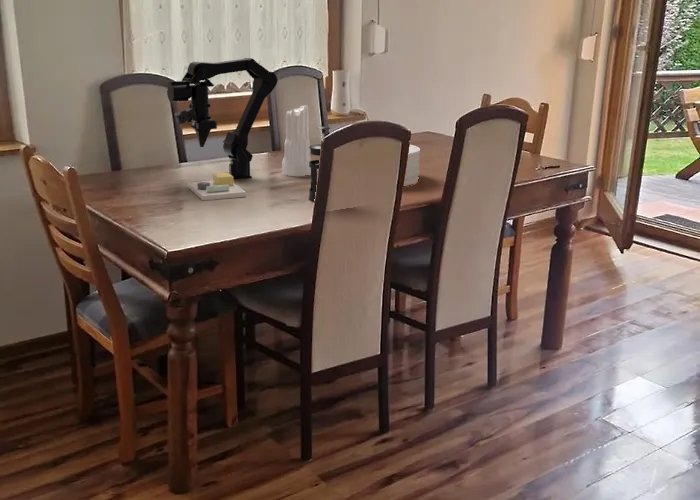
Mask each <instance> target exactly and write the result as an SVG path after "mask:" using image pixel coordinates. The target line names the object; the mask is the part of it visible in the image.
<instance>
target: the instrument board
mask: <svg viewBox="0 0 700 500" xmlns="http://www.w3.org/2000/svg"><path fill="white" fill-rule="evenodd" d="M234 181H235V179H233V176H232V175H230V174H229V172H227V171H226V172H215V173H212V180H209V181H208V180H206V181H198V182H197V181H196V182H195V181H194V182H187V188H188V189H189V190H191V192H193V193H194V195H196V196H197V197H198V198H199V199H200V200H201V201H211V200H212V201H213V200H223V199H237V198H247V192H246V191H245V190H244V189H243V188H242V187H240V186H239V185H237V184H235V182H234Z"/></svg>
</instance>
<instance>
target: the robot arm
mask: <svg viewBox="0 0 700 500" xmlns="http://www.w3.org/2000/svg"><path fill="white" fill-rule="evenodd" d="M245 71H246V72H247V74H248V75H249V76H250V78H252V79H253V82H252V91H251V92H252V93H251V95H250V96H249V99H248V101H247V104H246V105H245V108H244V111H243V113H242V115H241V116H240V118H239V122H238V124H237V126H236V127H235V129H234V130H233V131H232V132H230V131H227V133H226V136H225V139H224V140H223V141H222V143H223V146H222V148H223V151H224V152H225V154H227V157H228V159H230V160H229V162H230V163H228V171H229V172H228V173H229V174H230V175H232V176H233V180H241V179H251V178H252V176H251V162H252V159H253V154H252V153H251V152H249V151H248V150H247V149H248V145H249V134H250V131H251V130H252V128H253V125H254V123H255V120H256V119H257V116H258V114H259V112H260V111H261V107H262V105H263V103H264V101H265V99H266V98H267V97H268V96H270V94H271V93H272V92H273V90H274V89H275V87H276V86H277V85H278V82H279V80H278V77H277V74H276V73H274V72H273V71H269V70H268V68H267V69H266V68H265V67H264V66H262V65H261V64H260V63H258V61H256V60H255V59H254V58H250V57H245V58H239V59H233V60H232V59H231V60H226V61H218V62H206V61H205V62H204V61H192V62H190V63H189V65H188V66H187V71H186V72H185V74H184V76H183V77H182V79H181V80H169V83H168V86H167V91H166V94H167V95H166V96H167V99H168V101H169V102H170V103H177V102H178V103H179V102H188V101H189V100H190V103H189V104H188V108H185V109H182V110H180V111H178V112H175V113H174V114H173V115H174V118H175V120H176V122H177V124H179V125H183V124H185V123H187V124H189V123H191V125H189V126H190V128H191V129H193V130H194V132H195V135H196V138H197V142H198V145H199V147H200V148H203V147H204V146H205V144H206V142H207V140H208V137H209V135H210V132H211V130H217V129H218V127H217V126H218V125H217V124H218V123H217V122H216V121H215V119H212V117H211V116H210V111H209V110H210V108H211V104H210V103H209V87H211V88H212V87H214V86H215V84H214V83H212V82H211V81H210V79H212V78H214V77H216V76H218V75H223V74H231V73H237V72H245Z"/></svg>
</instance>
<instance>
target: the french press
mask: <svg viewBox="0 0 700 500" xmlns="http://www.w3.org/2000/svg"><path fill="white" fill-rule="evenodd" d="M316 128H317V129H318V130H321V133H322V140H323V139H324V140H325V134H326V130H330V129H331V127H330V126H317V127H316ZM309 148H310V155H312V156H316V157H317V156H319V157H320V149H321V144H312V145H311V144H310V146H309ZM319 160H320V159H313V160H311V161H310V162H309V167H311V175H310V179H309V181H310V187H309V189H308V190H309V191H308V196H309V197H308V201H309V202H313V203H315V202H314V199H315V192H316V185H317V186H318V184H317V177H318V170H320V169H319V165H320V164H319Z"/></svg>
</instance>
